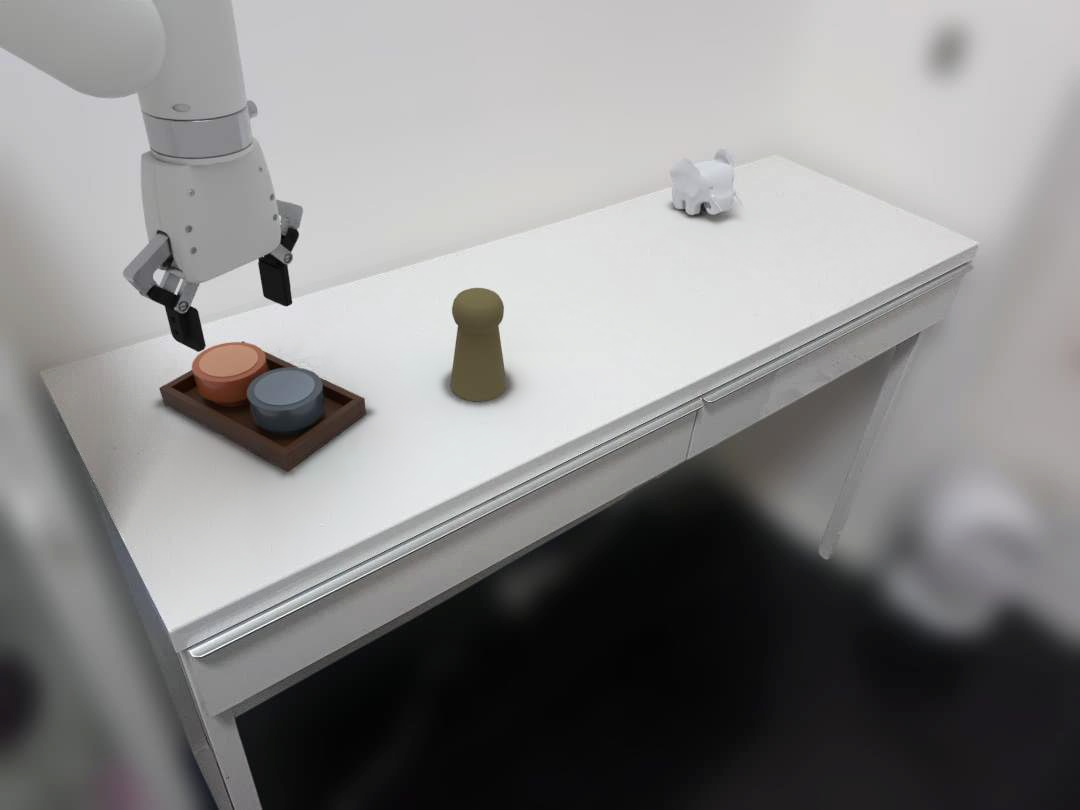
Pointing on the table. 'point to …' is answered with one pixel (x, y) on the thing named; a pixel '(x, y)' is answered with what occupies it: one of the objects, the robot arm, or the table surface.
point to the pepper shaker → (478, 346)
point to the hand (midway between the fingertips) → (236, 322)
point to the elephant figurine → (704, 184)
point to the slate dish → (286, 400)
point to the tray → (245, 432)
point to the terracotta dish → (228, 372)
